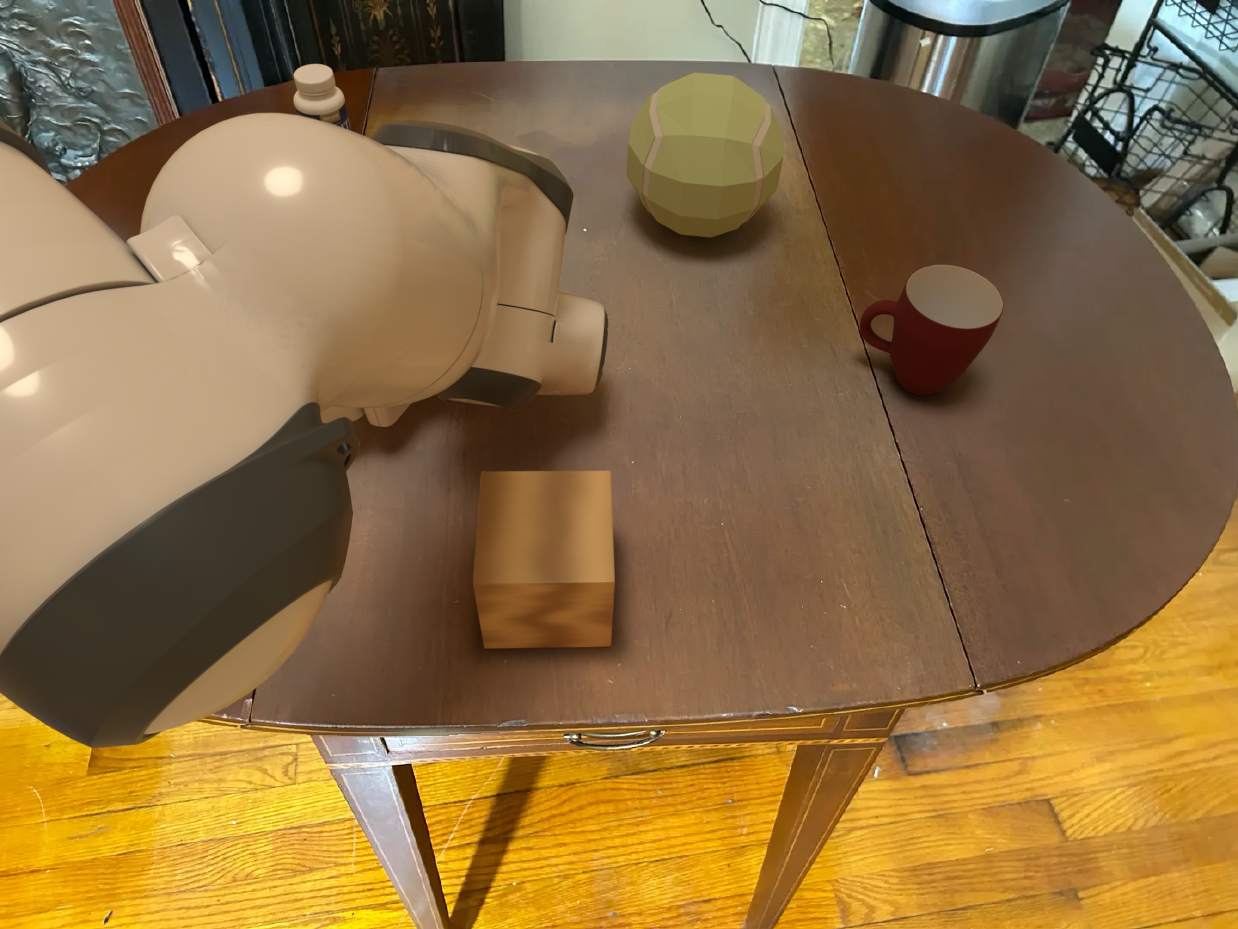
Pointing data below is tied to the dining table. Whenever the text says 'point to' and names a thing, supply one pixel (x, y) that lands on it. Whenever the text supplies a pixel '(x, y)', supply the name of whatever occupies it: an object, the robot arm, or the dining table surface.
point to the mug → (936, 325)
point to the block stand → (545, 559)
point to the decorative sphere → (705, 154)
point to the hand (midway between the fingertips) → (249, 305)
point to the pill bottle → (319, 96)
